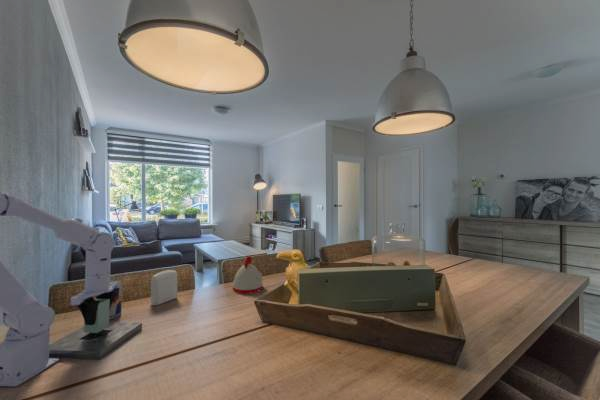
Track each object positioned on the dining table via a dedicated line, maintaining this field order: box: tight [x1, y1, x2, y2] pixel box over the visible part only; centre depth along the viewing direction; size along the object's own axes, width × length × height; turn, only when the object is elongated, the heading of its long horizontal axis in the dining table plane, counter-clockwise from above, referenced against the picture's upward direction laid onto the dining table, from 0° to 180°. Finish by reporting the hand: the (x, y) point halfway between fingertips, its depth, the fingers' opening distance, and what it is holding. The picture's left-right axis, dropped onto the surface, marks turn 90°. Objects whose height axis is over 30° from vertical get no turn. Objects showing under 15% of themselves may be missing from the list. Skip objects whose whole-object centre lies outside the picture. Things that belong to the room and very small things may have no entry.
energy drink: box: [109, 280, 123, 320], centre depth 89 cm, size 5×5×12 cm
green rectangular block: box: [83, 298, 110, 333], centre depth 73 cm, size 4×4×8 cm
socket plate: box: [49, 321, 143, 360], centre depth 73 cm, size 16×16×2 cm
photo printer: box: [150, 269, 178, 306], centre depth 104 cm, size 10×4×12 cm, turn 152°
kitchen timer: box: [232, 255, 264, 294], centre depth 120 cm, size 14×14×15 cm
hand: (97, 320), depth 73 cm, fingers closed on green rectangular block, 4 cm apart
